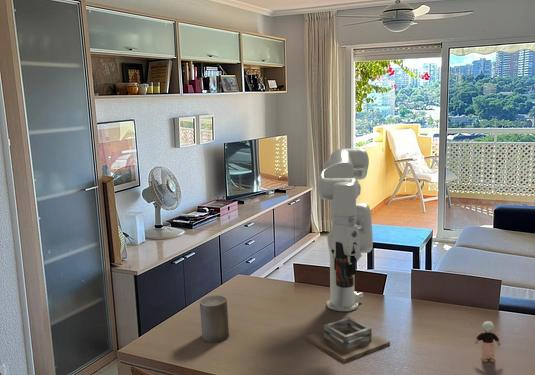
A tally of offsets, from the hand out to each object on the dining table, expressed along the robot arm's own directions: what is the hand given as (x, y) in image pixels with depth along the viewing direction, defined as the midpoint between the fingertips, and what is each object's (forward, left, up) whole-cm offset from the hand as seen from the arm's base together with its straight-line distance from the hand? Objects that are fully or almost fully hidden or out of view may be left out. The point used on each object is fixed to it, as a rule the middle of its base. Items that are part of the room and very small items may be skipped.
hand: (344, 271), depth 175 cm
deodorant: (0, 0, -5) cm, 5 cm away
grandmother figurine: (-28, +35, -26) cm, 52 cm away
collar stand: (0, +1, -25) cm, 25 cm away
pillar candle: (+35, -30, -26) cm, 53 cm away
